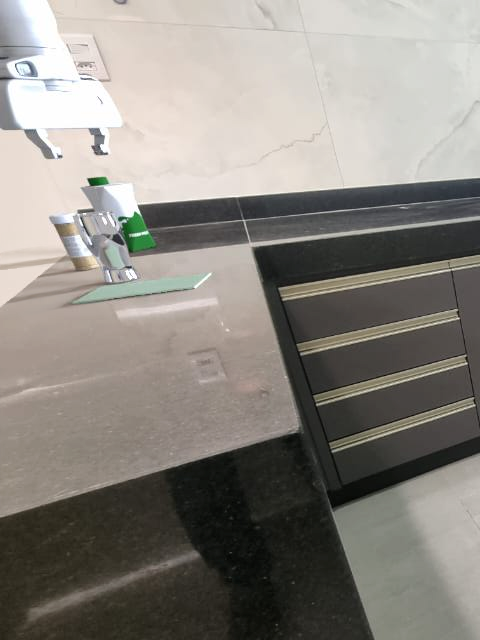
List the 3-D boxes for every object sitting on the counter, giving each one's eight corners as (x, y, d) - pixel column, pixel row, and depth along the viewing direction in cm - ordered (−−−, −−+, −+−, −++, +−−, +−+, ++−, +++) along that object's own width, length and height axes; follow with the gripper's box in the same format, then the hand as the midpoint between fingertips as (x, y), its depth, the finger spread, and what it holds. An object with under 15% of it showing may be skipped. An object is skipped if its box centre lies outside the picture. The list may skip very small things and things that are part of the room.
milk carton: (137, 245, 159) (106, 176, 150) (162, 245, 157) (132, 175, 149) (106, 252, 151) (71, 179, 142) (132, 252, 149) (99, 178, 141)
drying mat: (73, 304, 105) (72, 302, 104) (102, 287, 115) (101, 286, 115) (195, 288, 112) (194, 286, 111) (211, 274, 122) (210, 272, 122)
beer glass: (95, 284, 118) (61, 216, 112) (129, 275, 125) (98, 210, 118) (118, 285, 117) (85, 216, 110) (151, 276, 123) (121, 210, 117)
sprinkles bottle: (89, 266, 136) (63, 213, 130) (105, 266, 135) (79, 212, 129) (70, 271, 131) (42, 216, 126) (86, 271, 131) (59, 215, 125)
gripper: (79, 75, 99) (112, 154, 104) (-47, 65, 80) (2, 161, 86) (113, 73, 99) (145, 152, 104) (-4, 63, 80) (42, 160, 86)
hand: (80, 157), depth 95 cm, fingers open, 8 cm apart
